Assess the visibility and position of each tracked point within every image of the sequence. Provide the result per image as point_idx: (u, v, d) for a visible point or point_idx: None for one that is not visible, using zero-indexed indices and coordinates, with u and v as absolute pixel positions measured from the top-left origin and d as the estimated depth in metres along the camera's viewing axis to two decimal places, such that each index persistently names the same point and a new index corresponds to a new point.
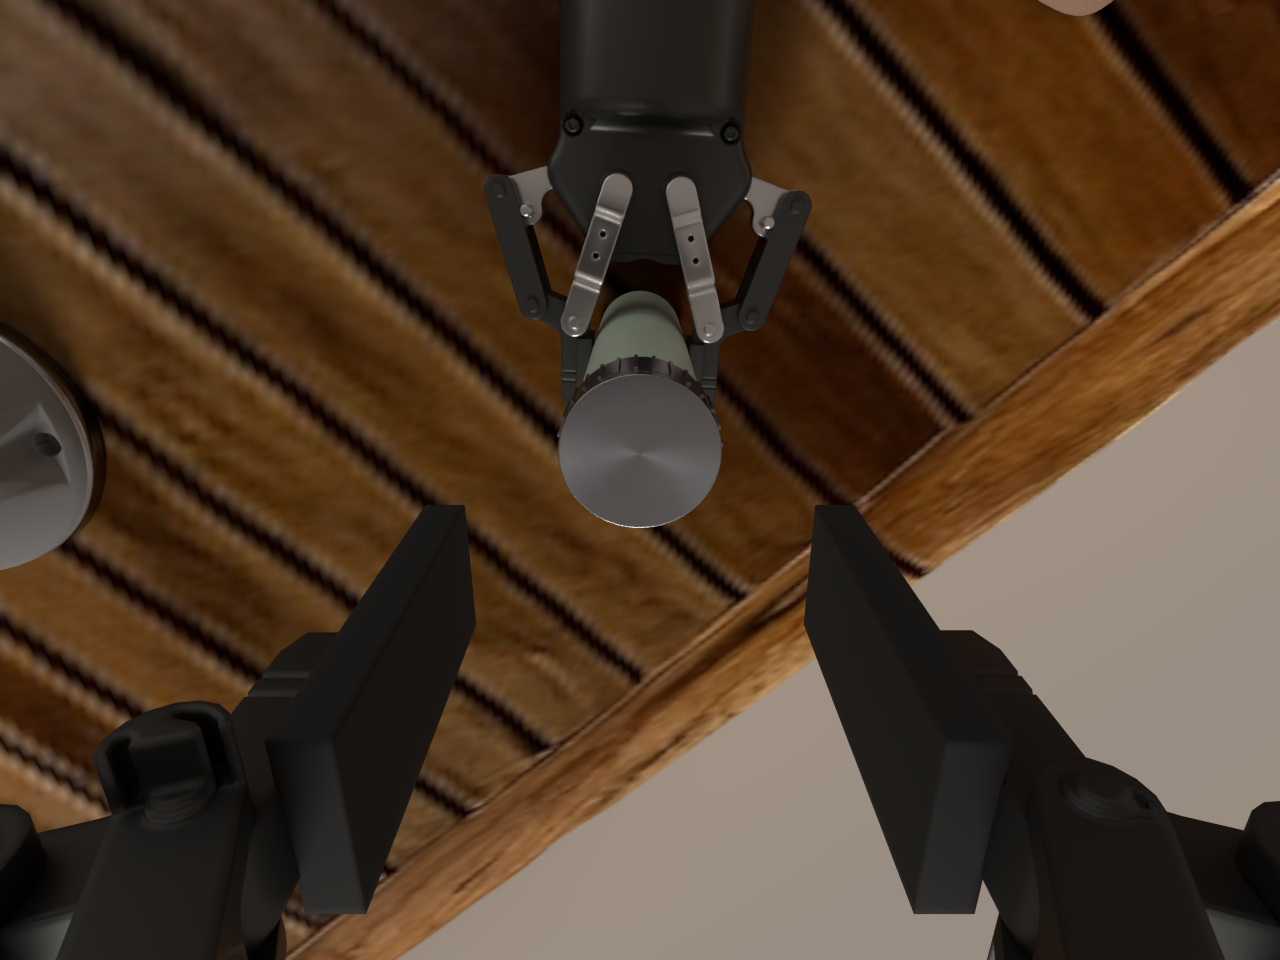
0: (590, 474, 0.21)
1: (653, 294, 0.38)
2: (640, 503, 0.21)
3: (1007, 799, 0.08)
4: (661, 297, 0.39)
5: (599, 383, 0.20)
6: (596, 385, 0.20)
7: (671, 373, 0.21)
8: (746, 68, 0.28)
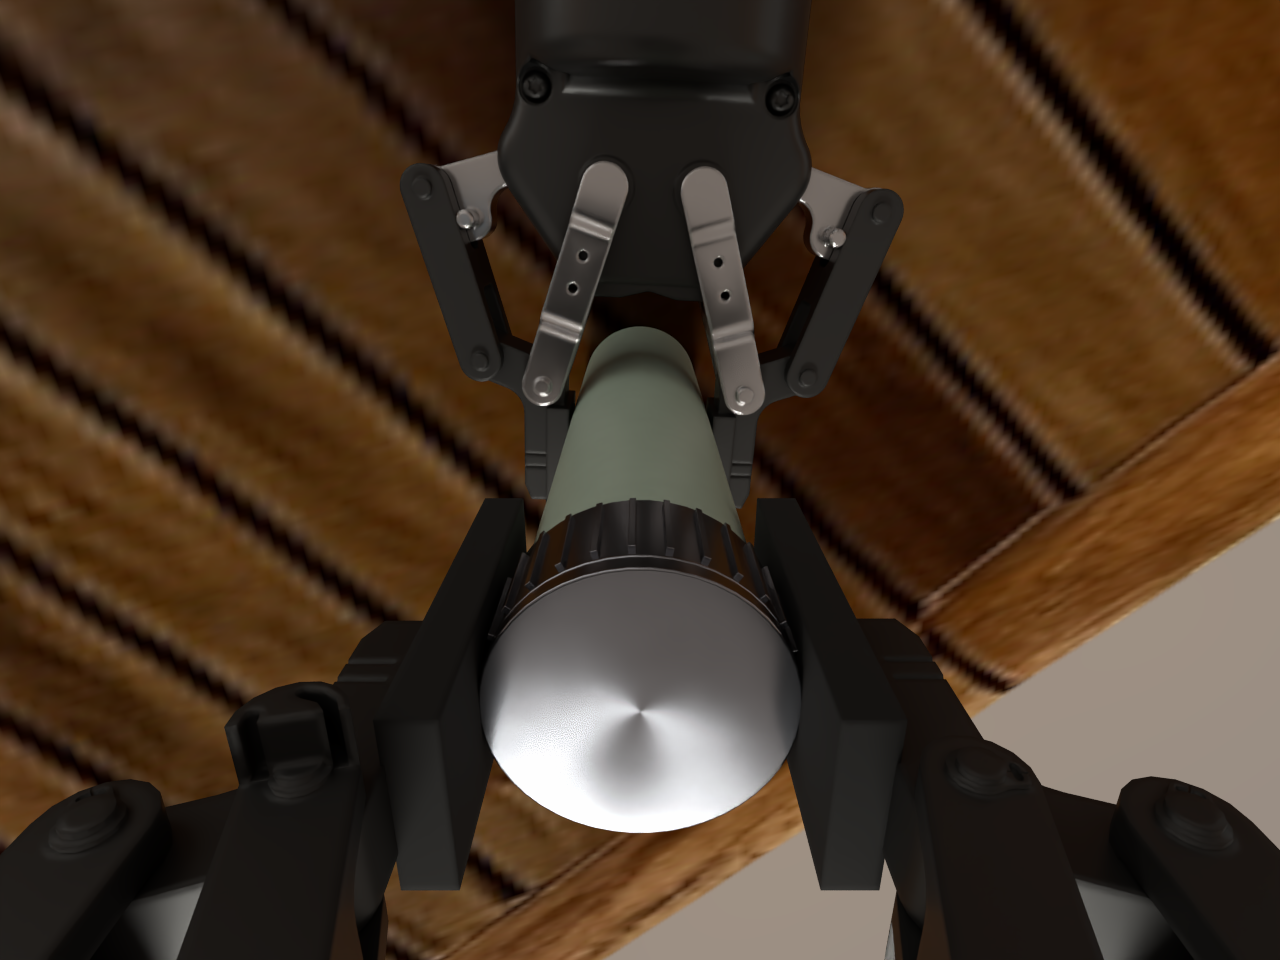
0: (542, 746, 0.11)
1: (658, 332, 0.28)
2: (641, 794, 0.11)
3: (901, 776, 0.08)
4: (669, 335, 0.28)
5: (557, 583, 0.10)
6: (550, 588, 0.10)
7: (703, 555, 0.10)
8: None
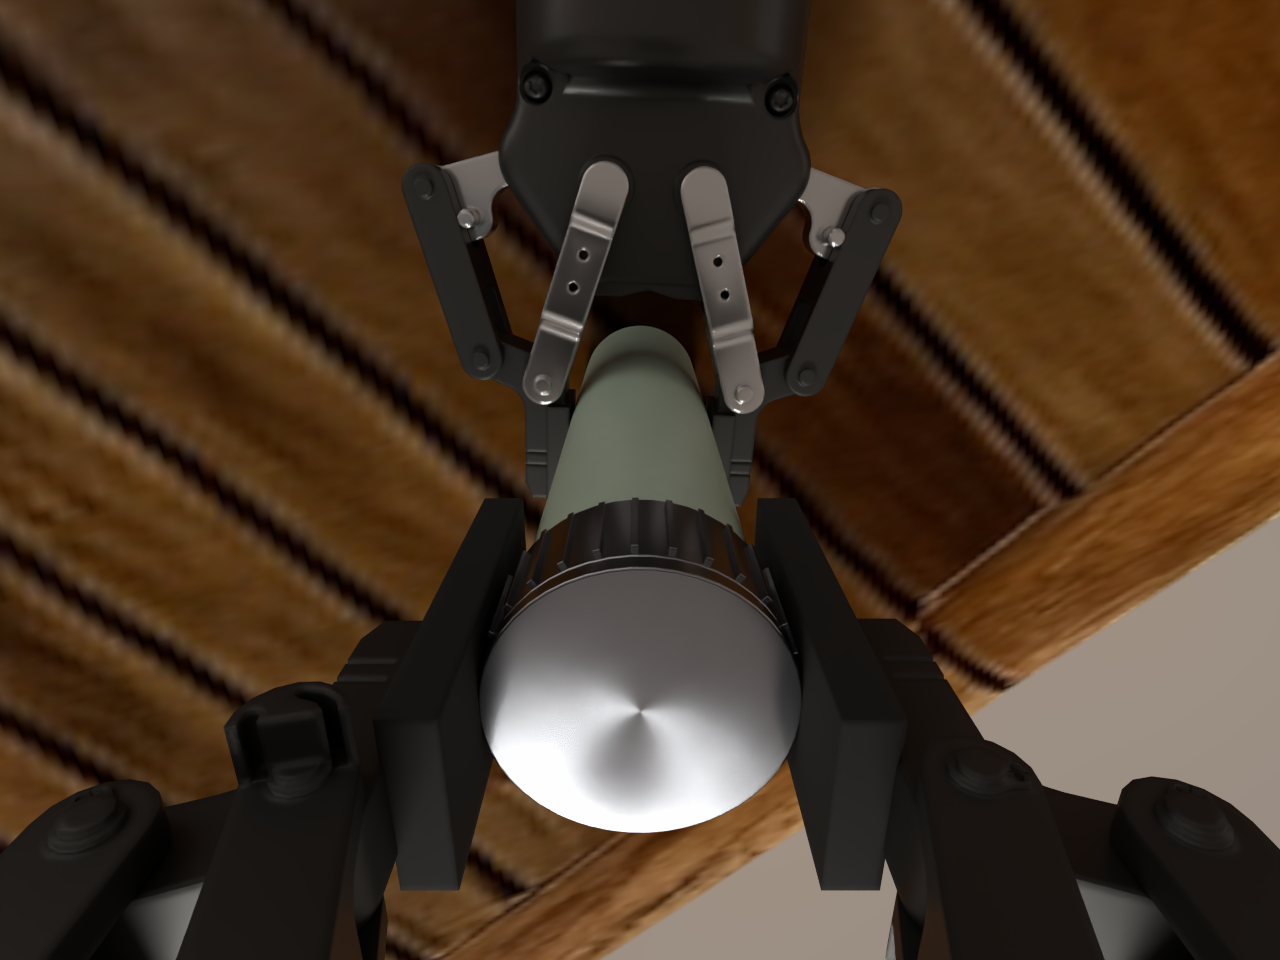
0: (679, 789, 0.11)
1: (658, 331, 0.28)
2: (746, 712, 0.10)
3: (901, 777, 0.08)
4: (669, 334, 0.28)
5: None
6: (506, 771, 0.11)
7: (490, 633, 0.11)
8: None
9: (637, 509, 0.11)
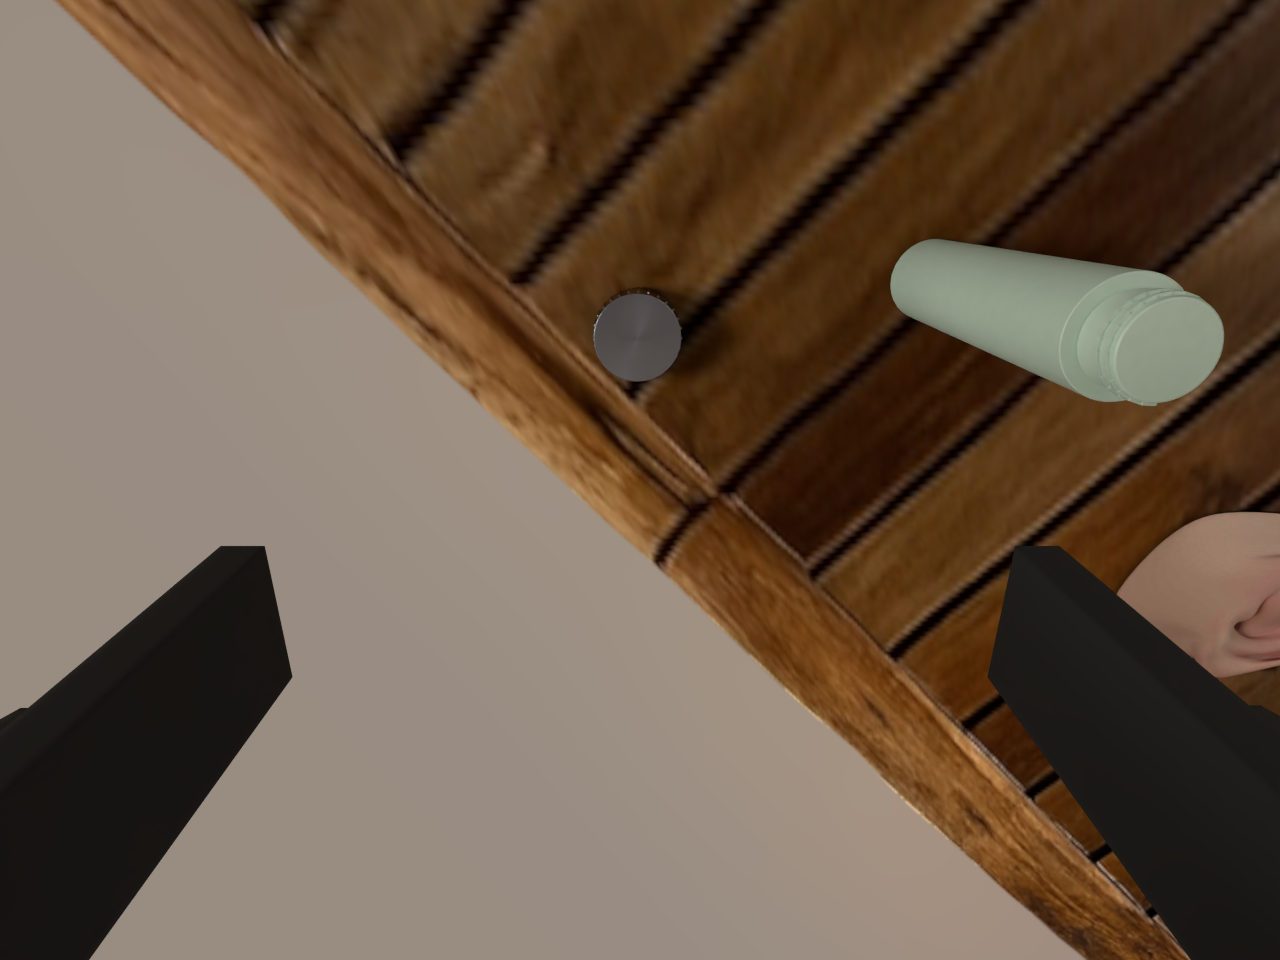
0: (646, 365, 0.39)
1: None
2: (665, 340, 0.39)
3: None
4: None
5: (597, 355, 0.39)
6: (598, 357, 0.39)
7: (597, 316, 0.39)
8: None
9: (639, 288, 0.40)
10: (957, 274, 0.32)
